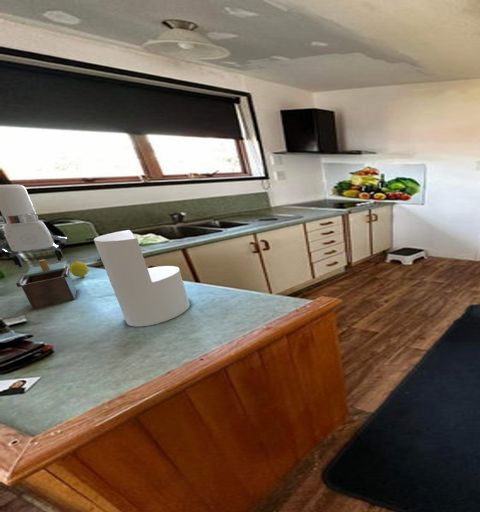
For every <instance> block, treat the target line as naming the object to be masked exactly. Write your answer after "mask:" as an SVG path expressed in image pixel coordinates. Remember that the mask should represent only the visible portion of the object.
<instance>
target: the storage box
mask: <svg viewBox="0 0 480 512" xmlns="http://www.w3.org/2000/svg"><path fill="white" fill-rule="evenodd" d="M69 273H70V266H69V265H68V266H67V265H66V267H65V270H61V271H56V272H51V273H45V274H40V275H35V276H30V277H26V273H24V274H21V276H20V277H19V278H18V279H17V281H16V282H15V285H16V287H17V288H21V289H22V290H23V292H24V294H25V296H26V299H27V300H28V302H29V304H30V306H31V308H32V310H33V311H35V310H39V309H43V308H47V307H51V306H55V305H59V304H62V303H68V302H71V301H75V300H76V294H77V289H76V288H75V285H74V283H73V280H72V278H71V276H70V274H69Z"/></svg>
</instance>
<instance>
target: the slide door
mask: <svg viewBox="0 0 480 512" xmlns="http://www.w3.org/2000/svg"><path fill="white" fill-rule="evenodd" d="M37 262H38V264H39V266H34V267H30V268H29V269H28V271H27V272H26V273H25V275H26V277H30V276H35V275H40V274H45V273H51V272H56V271H61V270H65V267H67V263H68V262H67V261H62V262H57V263H50V264H49V263H48V261H47V259H39V260H37Z"/></svg>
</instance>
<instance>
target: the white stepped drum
mask: <svg viewBox="0 0 480 512" xmlns="http://www.w3.org/2000/svg"><path fill="white" fill-rule="evenodd" d="M93 242H94V245H95V247H96V249H97V252H98V255H99V258H100V259H101V262H102V264H103V267H104V268H105V273H106V275H107V277H108V279H109V282H110V285H111V287H112V289H113V292H114V295H115V298H116V300H117V302H118V305H119V309H120V310H121V312H122V315H123V318H124V321H125V323H126V324H127V325H128V326H131V327H147V326H153V325H157V324H160V323H163V322H164V323H165V322H167V321H169V320H171V319H174V318H176V317H178V316H180V315H182V314H183V313H185V312H186V311H187V310H188V309H189V308H190V306H191V303H190V300H189V297H188V294H187V291H186V288H185V287H186V286H185V284H184V281H183V277H182V273H181V270H180V267H178V266H174V265H162V266H161V265H160V266H154V267H148V266H147V263H146V260H145V258H144V254H143V251H142V249H141V245H140V243H139V239H138V238H137V237H136V235H135V234H134V233H133V232H132V231H131V230H130V229H126V230H120V231H115V232H111V233H106V234H102V235H99V236H96V237H95V238H94V239H93Z"/></svg>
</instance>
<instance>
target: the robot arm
mask: <svg viewBox="0 0 480 512" xmlns="http://www.w3.org/2000/svg"><path fill="white" fill-rule="evenodd" d="M0 213H1V215H2V216H1V217H0V223H5V224H4V225H3V226H2V227H3V232H4V236H5V238H6V241H4V242H1V243H0V254H2V255H4V256H7V257H9V258H11V259H12V261H13V262H14V264H15V266H17V267H18V268H22V267H24V262H23V260H22V258H21V256H20V255H18V254H19V253H20V252H21V253H22V252H29V251H36V250H43V249H49V248H50V249H52V250H54V254H55V256H56V258H57V261H59V262H60V261H62V259H63V258H64V255H63V253H62V249H63V248H64V247H65V246H66V244H67V243H66V242H67V241H68V238H67V237H65V236H59V235H53V234H51V232H50V230H49V229H48V227H47V226H46V224H45V223H44V221H43V220H40V218H39V216H38V215H37V212H36V208H34V204H33V202H32V200H31V198H30V195H29V193H28V191H27V188H26V187H25V186H24V185H21V184H0ZM55 240H56V241H60V243H59V244H55ZM7 246H9V248H10V250H11V251H9V250H6V249H5V247H7Z"/></svg>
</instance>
